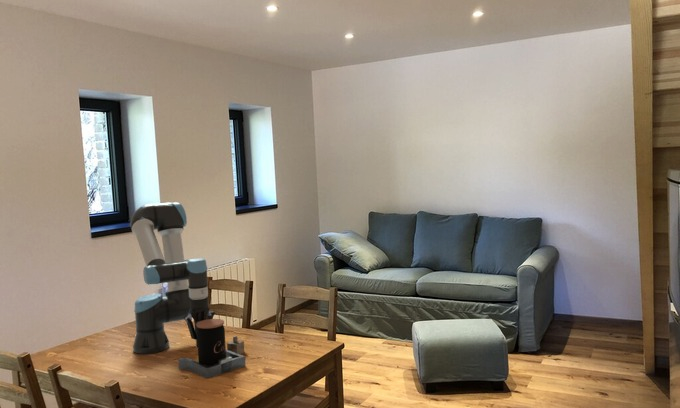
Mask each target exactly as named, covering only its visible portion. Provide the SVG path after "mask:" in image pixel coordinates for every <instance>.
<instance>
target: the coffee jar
mask: <svg viewBox="0 0 680 408" xmlns="http://www.w3.org/2000/svg"><path fill="white" fill-rule="evenodd" d="M224 324H225V320H224V319H220V318H213V319H207V318H206V320H202V321H200V322H198V323H197V324H196V325H197V327H198V329H197V343H198V348H197V357H198V362H199V363H201V364H204V365H206V366H211V365H214V364H218V363H219V360H220V359H223V358H226V350H227V348H226V347H227V344H226V330H225V328H226V327H225V325H224Z"/></svg>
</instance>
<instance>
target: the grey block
mask: <svg viewBox="0 0 680 408" xmlns="http://www.w3.org/2000/svg"><path fill="white" fill-rule="evenodd" d="M226 347H227V348H226V350H229V351H232V352H234V353H237V354H240V355H243V354H244V353H245V341H244V340H239V339H238V335H233V336H232V340H231V341H228V342H226Z"/></svg>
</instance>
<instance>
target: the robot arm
mask: <svg viewBox="0 0 680 408" xmlns="http://www.w3.org/2000/svg"><path fill="white" fill-rule="evenodd" d="M187 220H188V219H187V213H186V210H185V207H184V206H183V205H182V204H181V203H180V202H171V201H170V202H162V203H147V204H144V205H142V206H140V207H139V208H137V209H136V210H135V212H134V213H133V214H132V216H131V218H130V229H131V232H132V234H133V235H134V236H136V239H137V244H138V245H139V248H140V250H141V251H140V252H141V254H142V257H143V259H144V263H145V266H144V267H143V271H142V272H143V273H142V274H143V280H144V283H145V284H146V285H159V284H164V283H167V288H166V290H165V293H164V294H165V296H163V295H162V294H161V293H152V294H147V295H144V296H141V297H139V298H138V299H136V300H135V301H134V316H135V317H134V318H135V330H136V333H135V336H134V341H133V345H132V351H133V353H135V354H138V355H139V354H140V355H148V354H155V353H160V352H163V351H165V350H167V349H169V348H170V340H169V338H168V336H167V334H166V331H165V324H166V323H172V322H173V323H174V322H179V321H185V322H186V324H187V327H188V332H189V334H190V337H191V339H193V340H195V342H196V343H195V345H196V348H197V349H198V343H197V329H198V327H197V325H196V324H197V323H198V322H200V321H202V320H207V319H214V316H215V313H216V312H215V311H213V310H211V309H210V307H209V306H210V303H209V297H208V296H209V289H208V288H209V287H208V286H209V285H208V284H209V283H208V265H207V261H206V259H205V258H198V257H197V258H191V259H185V256H184V255H185V254H184V248H183V239H182V233H183V231H184V230H185V229H184V227H186V226H187V225H188V224H187V222H188V221H187ZM154 230H156V231H157V234H158V235H160V236H161V243H162V250H161V247H160V244H159V242H158V239H157V236H156V234H155V233H156V232H155V231H154ZM162 251H163V252H162Z"/></svg>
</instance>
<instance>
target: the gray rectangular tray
mask: <svg viewBox="0 0 680 408" xmlns="http://www.w3.org/2000/svg"><path fill="white" fill-rule="evenodd" d="M177 361H178V370H183V371H189V372H191V373H193V374H196V375H198V376H201V377H203V378H204V379H206V380H209V379H212V378H214V377H218V376H220V375H224V374H227V373H230V372H232V371H235V370H239V369H241V368H244V367H246V356H245V355H243V354H241V355H240V354H237V353H234V352H232V351H229V350H227V349H226V358H223V359H220V360H219V363H218V364H214V365H211V366H206V365H204V364H201V363H199V361H198V360H197V361H196V360H195V359H191V358H188V357H187V358H185V357H182V358H181V357H180V358H178V360H177Z"/></svg>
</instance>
